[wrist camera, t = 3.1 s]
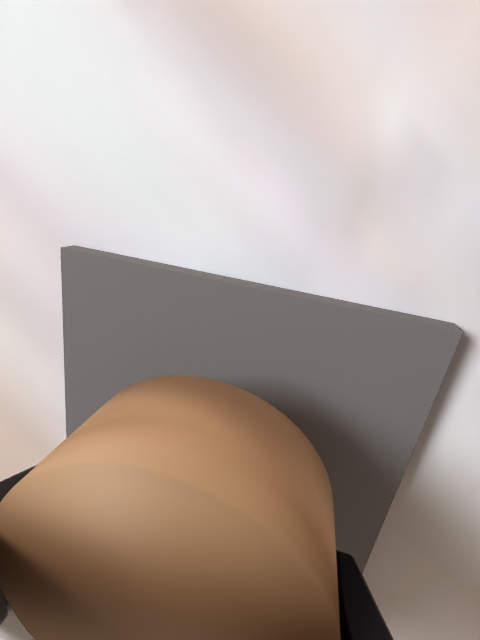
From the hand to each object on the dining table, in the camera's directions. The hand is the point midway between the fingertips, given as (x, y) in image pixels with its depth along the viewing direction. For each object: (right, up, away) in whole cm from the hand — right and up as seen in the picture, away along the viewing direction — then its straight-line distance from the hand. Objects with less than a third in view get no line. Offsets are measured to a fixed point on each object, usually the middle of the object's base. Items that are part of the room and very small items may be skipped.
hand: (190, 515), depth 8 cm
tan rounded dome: (0, 0, +1) cm, 1 cm away
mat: (+1, +1, +3) cm, 3 cm away
